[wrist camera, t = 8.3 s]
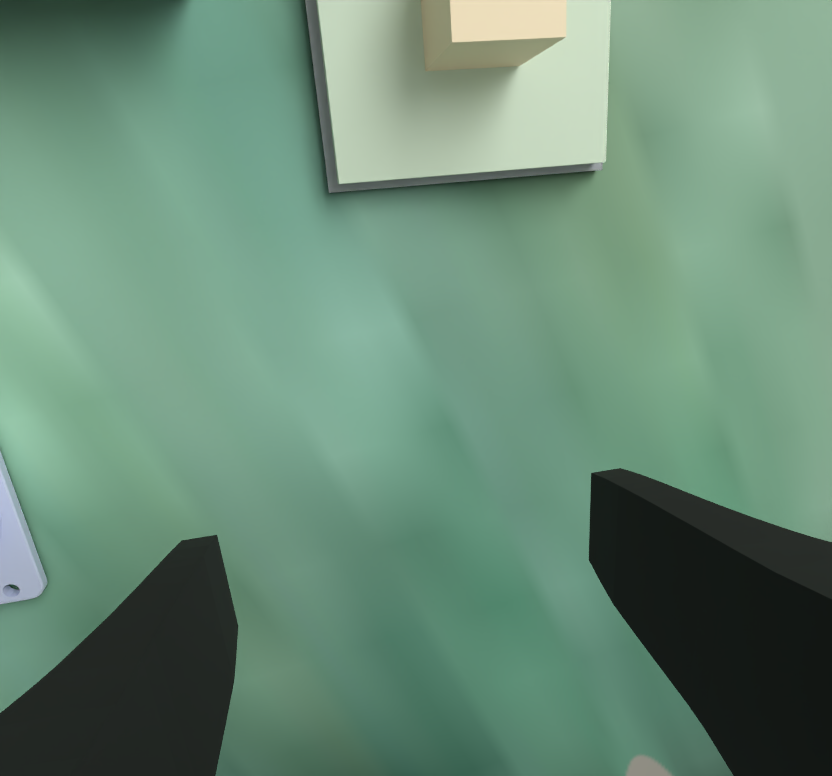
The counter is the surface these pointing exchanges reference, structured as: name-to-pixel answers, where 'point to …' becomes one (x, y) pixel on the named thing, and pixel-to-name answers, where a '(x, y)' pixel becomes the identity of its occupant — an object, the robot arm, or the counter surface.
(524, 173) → the rubber mat
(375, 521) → the counter surface
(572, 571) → the counter surface
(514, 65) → the lid
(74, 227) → the counter surface
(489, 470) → the counter surface
